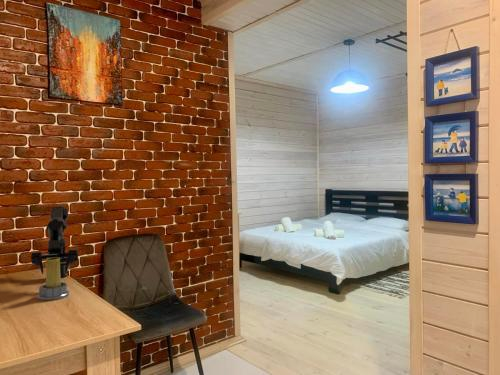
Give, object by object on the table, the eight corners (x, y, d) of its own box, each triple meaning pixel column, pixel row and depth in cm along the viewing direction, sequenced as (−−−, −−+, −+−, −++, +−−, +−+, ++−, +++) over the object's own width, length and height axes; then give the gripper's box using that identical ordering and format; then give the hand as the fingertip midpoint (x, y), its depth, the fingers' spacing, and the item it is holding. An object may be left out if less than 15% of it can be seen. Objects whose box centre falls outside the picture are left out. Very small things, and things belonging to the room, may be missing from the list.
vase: (41, 293, 159) (41, 259, 159) (55, 289, 165) (54, 256, 164) (51, 295, 156) (51, 260, 156) (64, 291, 162) (64, 257, 162)
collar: (53, 290, 168) (53, 280, 168) (75, 293, 164) (75, 282, 164) (29, 299, 156) (29, 288, 156) (53, 302, 153) (52, 290, 153)
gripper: (30, 234, 167) (27, 264, 158) (77, 231, 175) (77, 260, 165) (33, 248, 175) (30, 278, 165) (78, 245, 182) (78, 274, 172)
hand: (54, 272), depth 167 cm, fingers open, 9 cm apart
